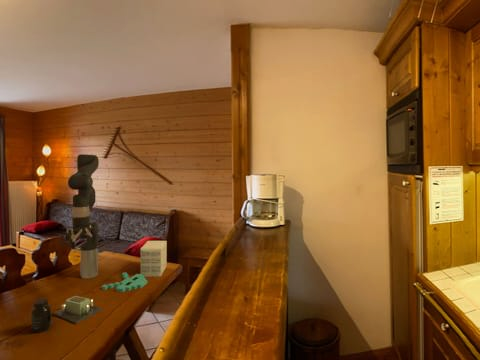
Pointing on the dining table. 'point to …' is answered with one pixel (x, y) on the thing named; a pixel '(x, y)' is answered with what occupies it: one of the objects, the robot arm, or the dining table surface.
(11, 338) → the dining table surface
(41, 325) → the supplement bottle
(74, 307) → the block
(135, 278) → the alien figure
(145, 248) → the supplement box
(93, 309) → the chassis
